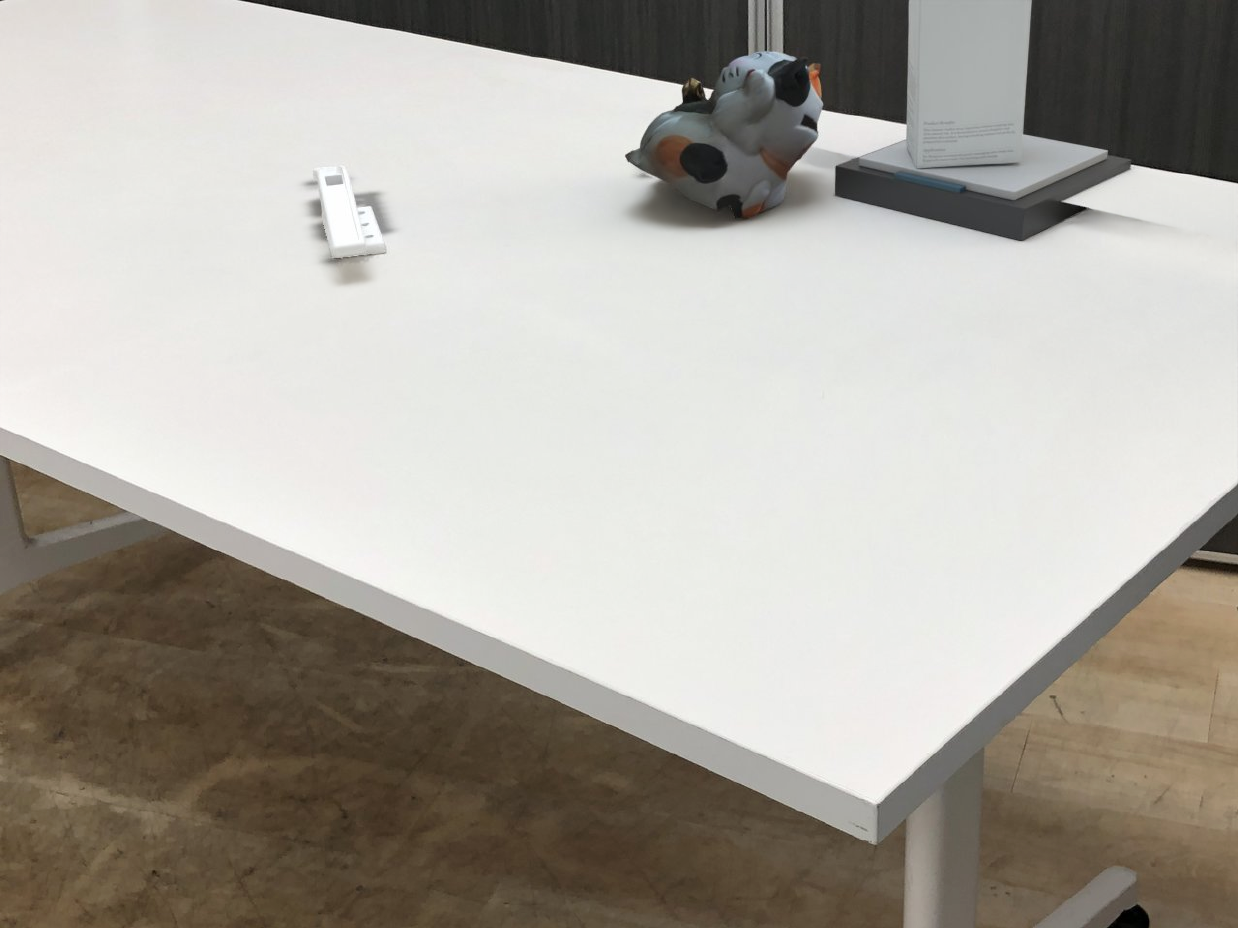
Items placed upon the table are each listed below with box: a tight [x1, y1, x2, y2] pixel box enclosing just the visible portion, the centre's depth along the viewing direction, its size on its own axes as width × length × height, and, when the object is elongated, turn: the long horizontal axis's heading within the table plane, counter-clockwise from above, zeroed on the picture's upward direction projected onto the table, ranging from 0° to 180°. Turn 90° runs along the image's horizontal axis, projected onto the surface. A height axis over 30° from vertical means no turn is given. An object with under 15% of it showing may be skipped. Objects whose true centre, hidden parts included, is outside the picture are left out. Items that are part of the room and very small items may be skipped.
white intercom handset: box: [312, 164, 387, 259], centre depth 109 cm, size 4×20×5 cm, turn 15°
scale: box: [834, 133, 1132, 242], centre depth 112 cm, size 17×15×3 cm
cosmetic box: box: [905, 0, 1033, 169], centre depth 107 cm, size 8×6×15 cm
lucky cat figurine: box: [624, 50, 824, 220], centre depth 112 cm, size 15×12×14 cm
